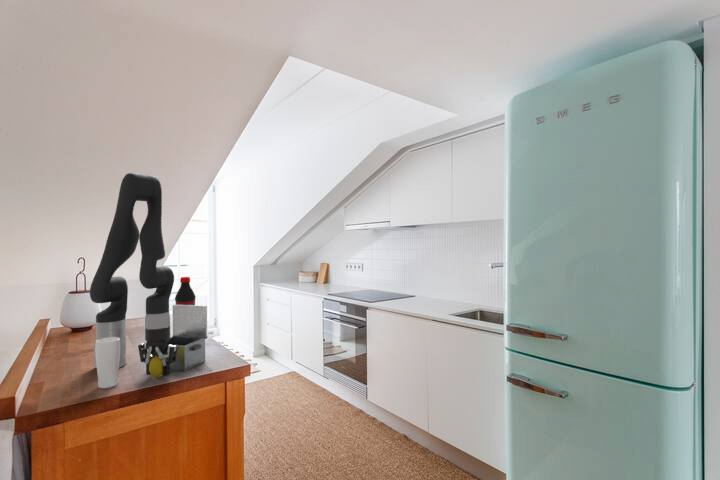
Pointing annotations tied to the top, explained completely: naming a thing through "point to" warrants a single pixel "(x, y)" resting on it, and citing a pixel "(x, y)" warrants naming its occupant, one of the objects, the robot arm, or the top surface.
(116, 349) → the drinking glass
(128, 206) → the robot arm
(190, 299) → the cola bottle
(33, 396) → the top surface
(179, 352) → the storage box
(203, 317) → the lid
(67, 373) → the top surface
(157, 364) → the lemon
